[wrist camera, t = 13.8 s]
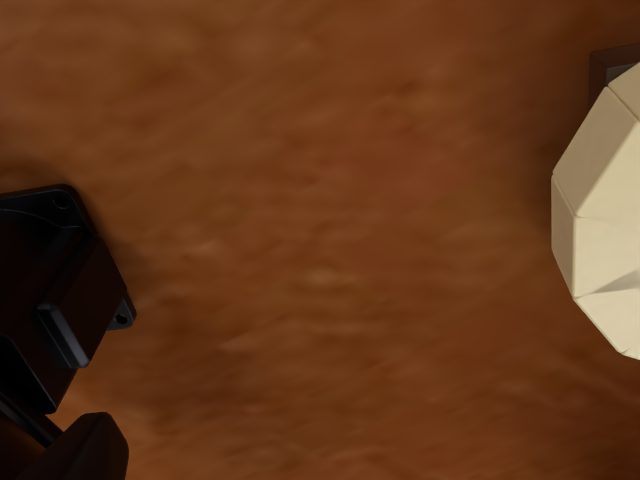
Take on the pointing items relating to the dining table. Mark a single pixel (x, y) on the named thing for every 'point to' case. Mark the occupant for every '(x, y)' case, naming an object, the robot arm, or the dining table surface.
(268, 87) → the dining table surface
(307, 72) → the dining table surface
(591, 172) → the tape
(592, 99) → the stand
